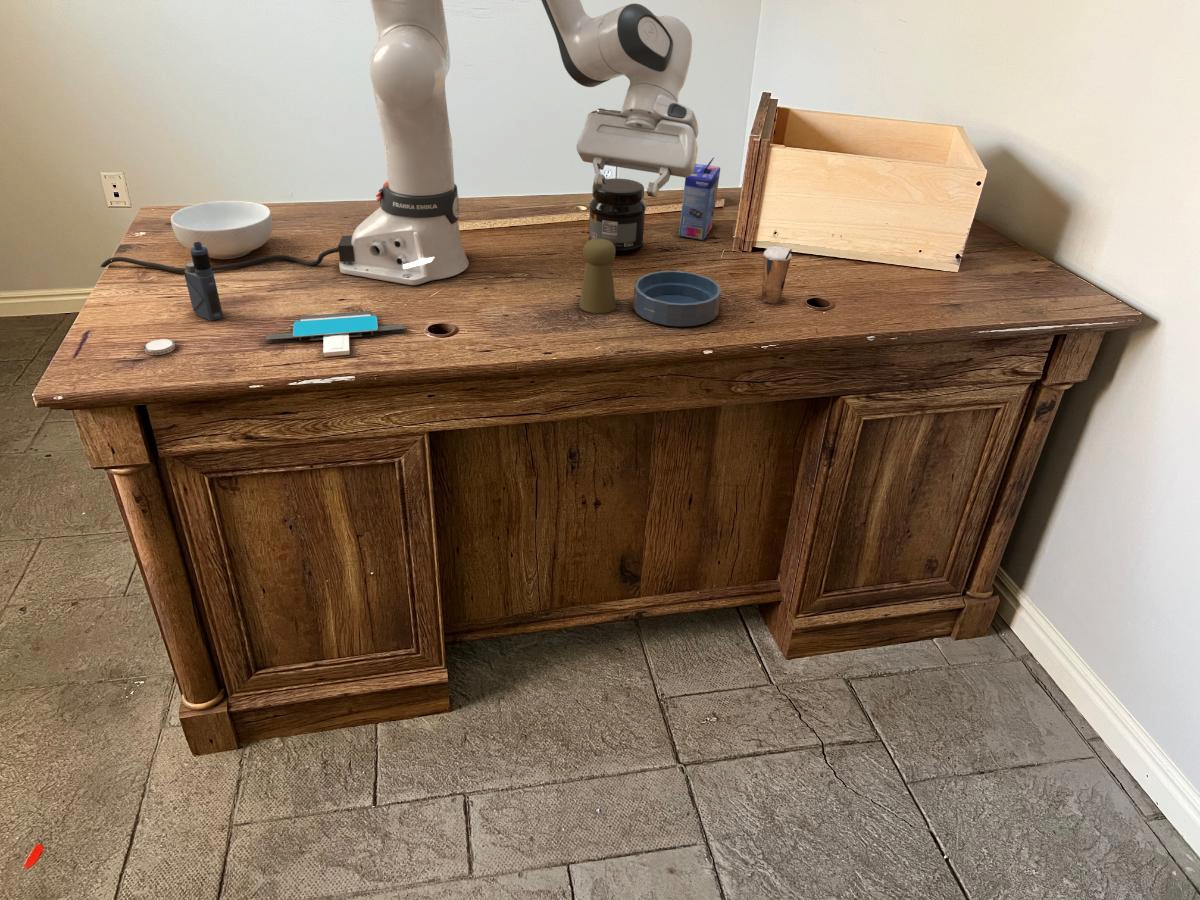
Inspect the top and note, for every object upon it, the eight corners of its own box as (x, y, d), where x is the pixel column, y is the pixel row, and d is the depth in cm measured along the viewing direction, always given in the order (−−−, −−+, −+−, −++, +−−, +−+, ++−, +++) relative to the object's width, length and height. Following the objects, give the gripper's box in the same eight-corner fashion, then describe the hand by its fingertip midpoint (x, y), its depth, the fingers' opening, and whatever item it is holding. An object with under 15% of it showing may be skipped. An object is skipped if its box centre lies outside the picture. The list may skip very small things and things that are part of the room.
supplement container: (630, 236, 170) (634, 175, 163) (651, 255, 161) (656, 191, 155) (580, 241, 166) (581, 179, 160) (599, 261, 158) (601, 196, 152)
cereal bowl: (274, 266, 151) (267, 227, 147) (172, 272, 147) (162, 232, 144) (280, 233, 165) (273, 196, 161) (187, 238, 161) (178, 200, 157)
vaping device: (212, 322, 132) (195, 247, 125) (190, 314, 134) (172, 239, 127) (227, 316, 133) (210, 242, 127) (205, 308, 136) (187, 235, 129)
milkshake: (770, 309, 143) (779, 251, 137) (751, 297, 147) (759, 240, 141) (792, 304, 144) (802, 247, 139) (773, 292, 148) (782, 236, 143)
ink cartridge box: (705, 241, 169) (713, 166, 161) (677, 237, 170) (684, 163, 162) (714, 225, 177) (722, 154, 169) (688, 222, 178) (695, 150, 170)
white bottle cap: (141, 355, 122) (140, 351, 121) (149, 343, 125) (148, 339, 125) (171, 354, 122) (170, 350, 122) (178, 341, 126) (177, 337, 125)
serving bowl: (629, 324, 136) (630, 300, 134) (637, 289, 148) (638, 267, 145) (717, 331, 135) (720, 308, 133) (719, 296, 146) (721, 274, 144)
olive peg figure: (612, 315, 139) (614, 249, 133) (575, 310, 140) (576, 245, 133) (618, 300, 144) (621, 236, 138) (583, 296, 144) (585, 232, 138)
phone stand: (263, 362, 122) (261, 351, 121) (268, 326, 131) (266, 316, 130) (407, 350, 126) (406, 339, 125) (401, 316, 136) (400, 306, 135)
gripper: (585, 96, 144) (561, 172, 142) (702, 112, 138) (679, 191, 136) (594, 117, 150) (572, 190, 148) (707, 133, 144) (685, 209, 142)
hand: (624, 190), depth 142 cm, fingers open, 8 cm apart
